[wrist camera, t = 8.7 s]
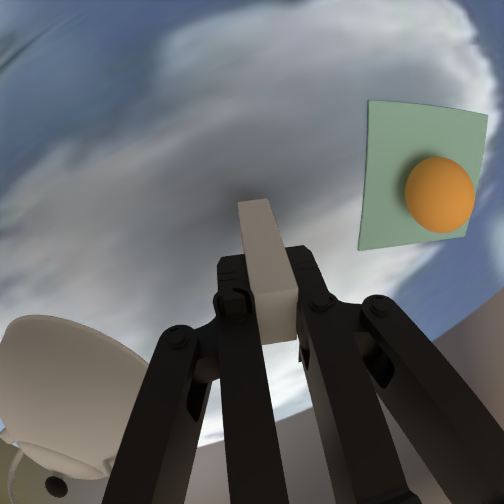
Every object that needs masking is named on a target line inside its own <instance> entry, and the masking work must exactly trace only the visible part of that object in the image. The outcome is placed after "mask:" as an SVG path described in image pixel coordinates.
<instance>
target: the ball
mask: <svg viewBox="0 0 504 504" xmlns="http://www.w3.org/2000/svg"><path fill="white" fill-rule="evenodd" d="M405 199H406V203H407V207H408V209H409V211H410V213H411V215H412V217H413V218H414V219H415V221H416V222H417V223H418V224H420V225H421V226H422V227H424V228H425V229H427V230H429V231H432V232H436V233H448V232H452V231H454V230H456V229H458V228H460V227H461V226H462V225H463V224H465V222H466V221H467V220H468V218H469V217H470V215H471V213H472V211H473V207H474V202H475V193H474V187H473V184H472V181H471V179H470V177H469V175H468V173H467V172H466V171H465V170H464V169H463V167H461V166H460V165H459V164H458V163H456V162H455V161H453V160H451V159H448V158H444V157H431V158H428V159H425V160H423V161H421V162H420V163H419V164H417V165H416V166H415V167H414V168H413V170H412V171H411V173H410V174H409V176H408V179H407V182H406V187H405Z"/></svg>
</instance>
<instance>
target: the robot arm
mask: <svg viewBox="0 0 504 504" xmlns="http://www.w3.org/2000/svg"><path fill="white" fill-rule="evenodd" d="M237 203H238V211H239V220H240V228H241V236H242V244H243V251H244V254H240V255H232V256H225V257H221V259H220V261H219V262H218V264H217V281H218V292H217V293H216V294H215V295H214V298H213V305H214V309H215V313H216V317H215V318H214V319H213V320H212V321H211V322H210V323H208V324H206V325H204V326H202V327H199V328H197V329H193V328H191V327H190V326H187V325H175V326H172V327H170V328H168V329H167V330H165V331H164V332H163V333H162V335H161V336H160V338H159V341H158V343H157V346H156V348H155V351H154V353H153V356H152V358H151V361H150V363H149V366H148V369H147V371H146V374H145V377H144V379H143V382H142V384H141V387H140V390H139V393H138V395H137V398H136V401H135V403H134V406H133V409H132V412H131V415H130V417H129V420H128V423H127V426H126V429H125V432H124V435H123V438H122V440H121V443H120V446H119V449H118V452H117V455H116V458H115V462H114V465H113V468H112V471H111V474H110V477H109V481H108V484H107V487H106V490H105V493H104V497H103V500H102V504H184V501H185V496H186V492H187V488H188V484H189V479H190V475H191V471H192V465H193V461H194V457H195V453H196V449H197V445H198V440H199V436H200V432H201V428H202V423H203V419H204V415H205V411H206V406H207V402H208V398H209V394H210V389H211V385H212V381H214V380H216V379H219V378H220V387H221V401H222V415H223V428H224V441H225V451H226V463H227V473H228V484H229V493H230V503H231V504H289V500H288V494H287V488H286V483H285V477H284V472H283V466H282V460H281V455H280V450H279V443H278V438H277V432H276V426H275V420H274V415H273V409H272V403H271V397H270V392H269V386H268V380H267V374H266V368H265V362H264V357H263V351H262V345H266V344H273V343H279V342H286V341H292V340H297V335H298V339H299V362H301V361H302V364H303V368H304V372H305V376H306V380H307V384H308V388H309V392H310V396H311V400H312V404H313V408H314V412H315V416H316V419H317V424H318V428H319V432H320V437H321V441H322V445H323V449H324V453H325V457H326V462H327V466H328V470H329V475H330V479H331V484H332V488H333V492H334V496H335V500H336V504H422V503H421V501H420V499H419V498H418V496H417V495H416V494H414V493H413V492H411V491H410V490H409V488H408V486H407V483H406V480H405V476H404V473H403V470H402V467H401V464H400V461H399V458H398V455H397V451H396V449H395V446H394V443H393V440H392V437H391V434H390V431H389V428H388V425H387V422H386V419H385V417H384V414H383V411H382V408H381V406H380V403H379V400H378V397H377V395H376V393H377V394H378V396H379V397H380V398H381V400H382V401H383V403H384V404H385V406H386V407H387V409H388V410H389V411H390V413H391V414H392V416H393V417H394V419H395V420H396V421H397V423H398V425H399V426H400V427H401V429H402V430H403V432H404V433H405V435H406V436H407V438H408V439H409V440H410V442H411V444H412V445H413V447H414V448H415V450H416V451H417V453H418V454H419V455H420V457H421V458H422V460H423V461H424V463H425V464H426V466H427V467H428V469H429V470H430V472H431V473H432V475H433V476H434V478H435V479H436V481H437V482H438V484H439V485H440V487H441V488H442V490H443V491H444V493H445V495H446V496H447V497H448V499H449V500H450V501H451V503H452V504H504V431H503V430H502V428H501V427H500V426H499V424H498V423H497V422H496V420H495V419H494V418H493V416H492V415H491V414H490V413H489V411H488V410H487V409H486V407H485V406H484V405H483V403H482V402H481V401H480V400H479V399H478V397H477V396H476V395H475V394H474V392H473V391H472V390H471V388H470V387H469V386H468V385H467V384H466V382H465V381H464V380H463V379H462V377H461V376H460V375H459V374H458V373H457V371H456V370H455V369H454V368H453V367H452V365H450V363H449V362H448V361H447V360H446V358H445V357H444V356H443V355H442V354H441V353H440V351H439V350H438V349H437V348H436V347H435V346H434V345H433V343H432V342H431V341H430V340H429V339H428V338H427V337H426V335H425V334H424V333H423V332H422V331H421V330H420V329H419V328H418V327H417V325H416V324H415V323H414V322H413V321H412V320H411V319H410V318H409V317H408V316H407V315H406V313H405V312H404V311H403V310H402V309H401V308H400V307H399V306H398V305H397V304H396V303H395V302H394V301H393V300H392V299H390V298H389V297H387V296H384V295H371V296H369V297H367V298H366V299H364V301H363V303H362V304H353V303H345V302H342V301H339V300H338V299H337V298H336V296H335V295H333V294H331V293H330V292H329V291H328V289H327V286H326V284H325V282H324V279H323V277H322V275H321V272H320V270H319V268H318V265H317V263H316V261H315V259H314V256H313V254H312V252H311V251H310V250H309V249H308V248H306V247H305V246H304V245H301V246H294V247H286V248H285V247H284V244H283V241H282V239H281V236H280V233H279V230H278V227H277V224H276V221H275V218H274V215H273V213H272V210H271V207H270V204H269V201H268V198H267V199H258V200H250V201H242V202H237ZM375 391H376V392H375Z"/></svg>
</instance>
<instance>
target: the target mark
mask: <svg viewBox="0 0 504 504" xmlns="http://www.w3.org/2000/svg"><path fill="white" fill-rule="evenodd" d="M487 121H488V115H485V114H480V113H475V112H470V111H464V110H459V109H452V108H446V107H439V106H431V105H423V104H414V103H404V102H392V101H376V100H368V126H367V152H366V170H365V184H364V197H363V208H362V217H361V227H360V235H359V244H358V251H363V250H371V249H378V248H385V247H393V246H400V245H407V244H414V243H422V242H429V241H436V240H443V239H450V238H457V237H464V236H465V233H466V230H467V226H468V223H469V219H470V217H469V218H468V220H467V221H466V222H465V224H463V225H462V226H461V227H460V228H458V229H456V230H454V231H452V232H448V233H436V232H432V231H429V230H427V229H425V228H424V227H422V226H421V225H420V224H418V223H417V222H416V221H415V219H414V218H413V217H412V215H411V213H410V211H409V209H408V207H407V203H406V199H405V187H406V182H407V179H408V176H409V174H410V173H411V171H412V170H413V168H414V167H415V166H416V165H417V164H419V163H420V162H421V161H423V160H425V159H428V158H431V157H444V158H448V159H451V160H453V161H455V162H456V163H458V164H459V165H460V166H461V167H463V169H464V170H465V171H466V172H467V173H468V175H469V177H470V179H471V181H472V184H473V187H474V193H475V195H476V190H477V185H478V181H479V176H480V170H481V165H482V159H483V153H484V146H485V138H486V130H487Z"/></svg>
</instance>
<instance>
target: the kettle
mask: <svg viewBox="0 0 504 504" xmlns="http://www.w3.org/2000/svg"><path fill="white" fill-rule="evenodd" d="M148 366H149V364H148V363H147V362H146V361H145V360H143V359H142V358H141V357H140V356H139V355H137V354H136V353H135V352H133V351H132V350H131V349H129V348H128V347H126V346H125V345H123V344H121V343H120V342H118V341H116V340H114V339H113V338H111V337H109V336H107V335H105V334H103V333H101V332H99V331H97V330H94V329H92V328H90V327H87V326H85V325H82V324H79V323H76V322H73V321H70V320H66V319H63V318H58V317H53V316H46V315H27V316H23V317H19V318H17V319H15V320H14V321H12V322H11V323H10V324H9V325H8V327H7V329H6V331H5V335H4V337H3V339H2V341H1V343H0V417H1V419H2V421H3V423H4V425H5V428H4V429H3V430H2V431H1V432H0V437H1V438H2V439H3V440H4V441H5V442H6V443H8V444H12V443H14V442H16V443H17V445H18V446H19V448H20V449H19V451H18V452H17V454H16V455H15V457H14V459H13V461H12V464H11V466H10V470H9V475H8V492H9V496H10V499H11V502H12V504H18V503H17V501H16V498H15V494H14V475H15V471H16V468H17V466H18V463H19V461H20V460H21V458H22V456H23V454H24V453H25V454H26V455H27V456H28V457H30V458H31V459H33V460H34V461H35V462H37V463H38V464H40V465H41V466H43V467H44V468H46V469H48V470H50V471H52V472H53V476H51V477H49V478H47V479H46V482H45V487H46V489H47V491H48V492H49V493H50V494H51V495H53V496H54V497H58V498H61V497H64V496H65V495H66V494H67V491H68V488H67V485H66V483H65V482H64V481H63V476H66V477H71V478H77V479H90V480H92V479H99V478H104V477H106V476H108V477H110V474H111V471H112V468H113V465H114V462H115V458H116V455H117V452H118V449H119V446H120V443H121V440H122V438H123V435H124V432H125V429H126V426H127V423H128V420H129V417H130V415H131V412H132V409H133V406H134V403H135V401H136V398H137V395H138V393H139V390H140V387H141V384H142V382H143V379H144V377H145V374H146V371H147V369H148Z"/></svg>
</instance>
